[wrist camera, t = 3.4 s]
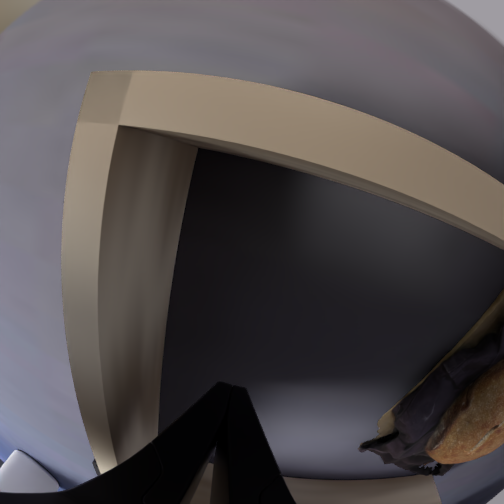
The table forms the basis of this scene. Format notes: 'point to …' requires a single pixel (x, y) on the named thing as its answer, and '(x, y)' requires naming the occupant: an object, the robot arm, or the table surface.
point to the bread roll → (451, 405)
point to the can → (25, 475)
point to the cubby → (170, 220)
